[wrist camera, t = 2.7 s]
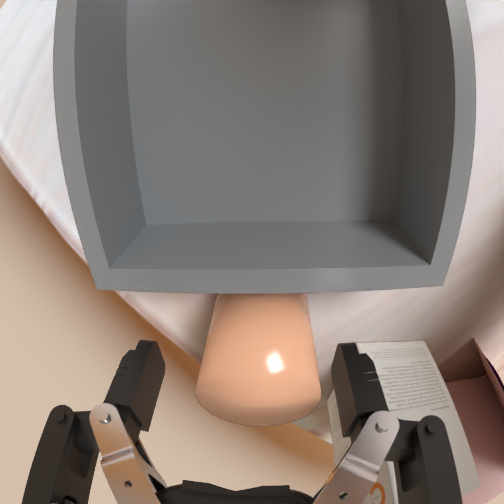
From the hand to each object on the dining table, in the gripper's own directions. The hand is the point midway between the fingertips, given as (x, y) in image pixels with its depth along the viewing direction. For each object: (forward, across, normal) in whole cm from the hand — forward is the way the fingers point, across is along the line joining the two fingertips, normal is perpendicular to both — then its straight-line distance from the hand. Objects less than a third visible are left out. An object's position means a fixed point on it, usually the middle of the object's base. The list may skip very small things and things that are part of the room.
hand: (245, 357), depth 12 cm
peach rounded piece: (+5, -1, 0) cm, 5 cm away
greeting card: (+5, -21, +12) cm, 25 cm away
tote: (+5, -1, -14) cm, 15 cm away
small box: (+5, -10, +9) cm, 14 cm away
